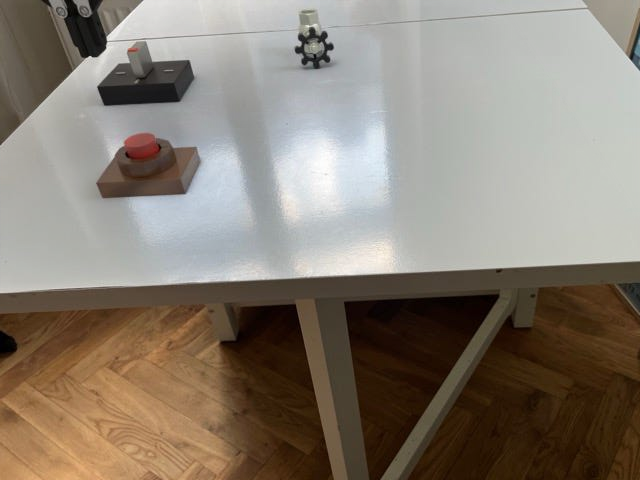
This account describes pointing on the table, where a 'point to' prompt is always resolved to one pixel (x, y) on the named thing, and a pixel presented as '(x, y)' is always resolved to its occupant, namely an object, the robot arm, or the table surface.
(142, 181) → the button block
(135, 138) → the button
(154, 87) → the panel
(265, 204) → the table surface
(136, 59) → the hob knob
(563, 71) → the table surface
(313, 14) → the valve
